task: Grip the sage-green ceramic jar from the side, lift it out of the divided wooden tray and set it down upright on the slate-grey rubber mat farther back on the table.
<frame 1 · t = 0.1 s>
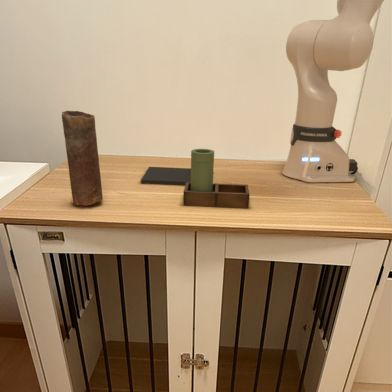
weathered brown tube: (88, 204, 103), on the cabinet
divided wooden tray: (216, 201, 107), on the cabinet
mat: (177, 177, 125), on the cabinet
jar: (201, 201, 107), resting in divided wooden tray
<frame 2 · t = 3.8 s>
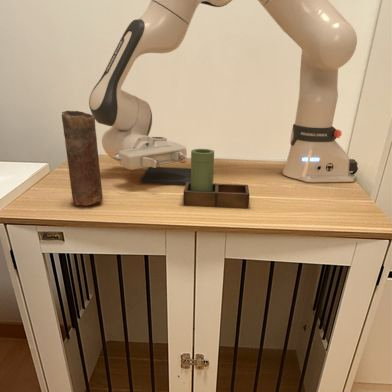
hand: (171, 161, 109), 7 cm above the cabinet, tool horizontal, fingers open, 8 cm apart
nothing on the cabinet moved.
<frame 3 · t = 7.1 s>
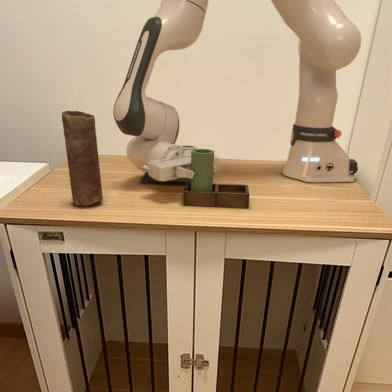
hand: (204, 172, 102), 7 cm above the cabinet, tool horizontal, fingers closed on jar, 5 cm apart
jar: (201, 201, 107), resting in divided wooden tray, touching gripper
everything else where it was.
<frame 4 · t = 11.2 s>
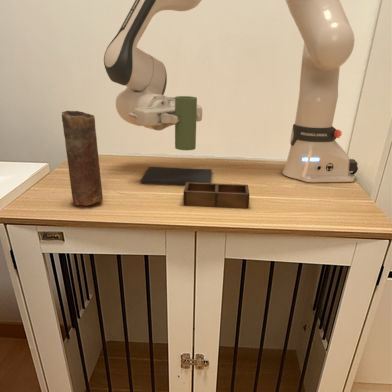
hand: (188, 118, 108), 17 cm above the cabinet, tool horizontal, fingers closed on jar, 5 cm apart
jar: (185, 148, 112), point 10 cm above the cabinet, touching gripper
everything else where it was.
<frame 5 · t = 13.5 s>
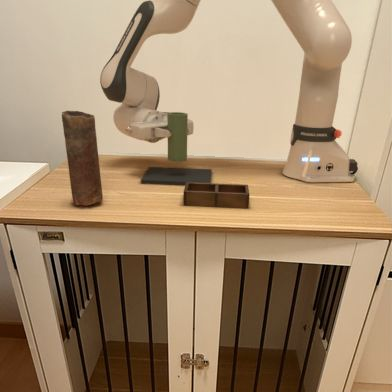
hand: (179, 133, 117), 12 cm above the cabinet, tool horizontal, fingers closed on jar, 5 cm apart
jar: (177, 159, 122), point 5 cm above the cabinet, touching gripper
everything else where it was.
when the fingers open (8 cm above the cabinet, at t = 15.2 s): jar stays where it is, resting on mat.
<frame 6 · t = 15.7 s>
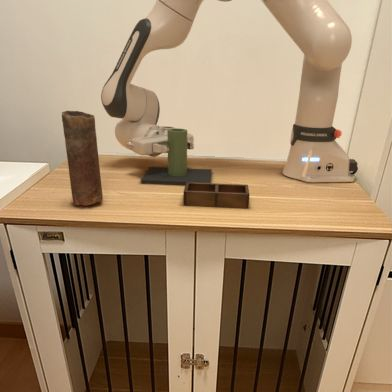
hand: (180, 148, 119), 8 cm above the cabinet, tool horizontal, fingers open, 8 cm apart
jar: (177, 174, 124), point 1 cm above the cabinet, touching mat
everything else where it was.
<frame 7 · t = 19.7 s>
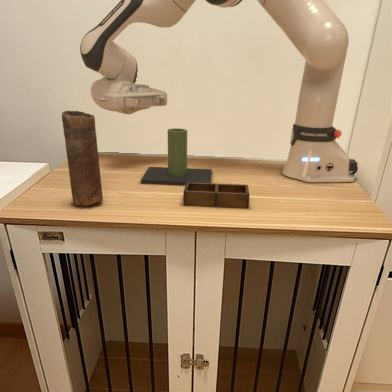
hand: (152, 102, 120), 19 cm above the cabinet, tool horizontal, fingers open, 8 cm apart
nothing on the cabinet moved.
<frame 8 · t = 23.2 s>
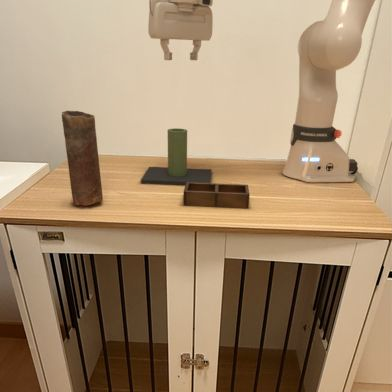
hand: (181, 60, 115), 29 cm above the cabinet, tool pointing down, fingers open, 8 cm apart
nothing on the cabinet moved.
at the end: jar inside the target area on the mat (0.2 cm from its centre), point 1.0 cm above the mat's base; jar tilted 0°; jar touching mat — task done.
